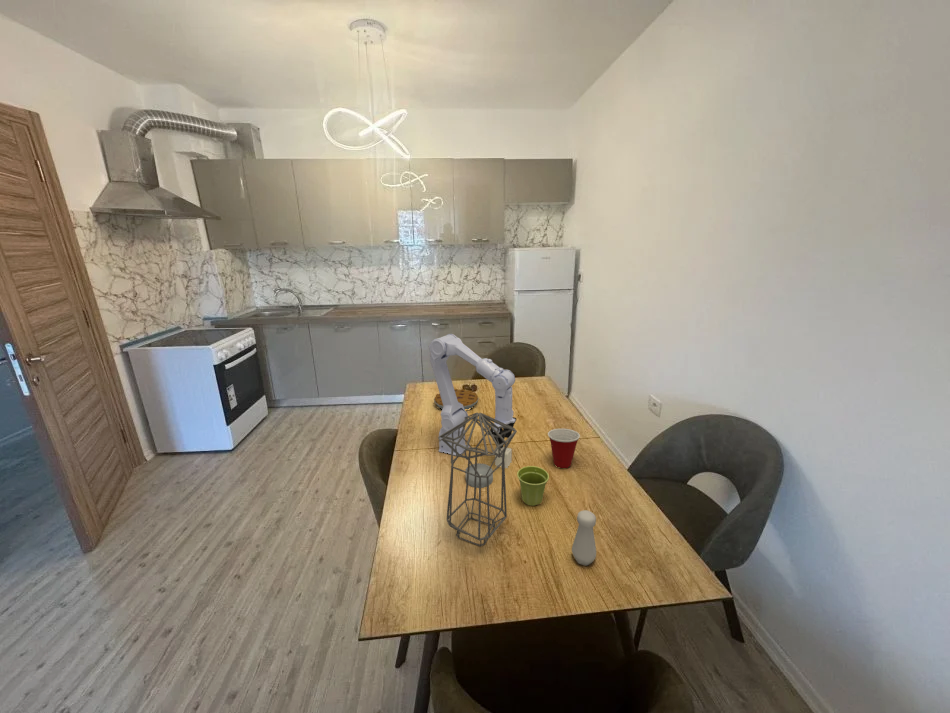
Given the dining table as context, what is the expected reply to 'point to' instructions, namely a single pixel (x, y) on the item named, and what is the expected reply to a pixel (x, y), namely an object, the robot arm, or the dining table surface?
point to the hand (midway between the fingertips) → (503, 442)
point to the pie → (460, 398)
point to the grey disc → (481, 470)
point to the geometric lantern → (485, 420)
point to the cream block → (507, 457)
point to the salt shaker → (585, 538)
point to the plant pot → (532, 484)
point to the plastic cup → (563, 446)
